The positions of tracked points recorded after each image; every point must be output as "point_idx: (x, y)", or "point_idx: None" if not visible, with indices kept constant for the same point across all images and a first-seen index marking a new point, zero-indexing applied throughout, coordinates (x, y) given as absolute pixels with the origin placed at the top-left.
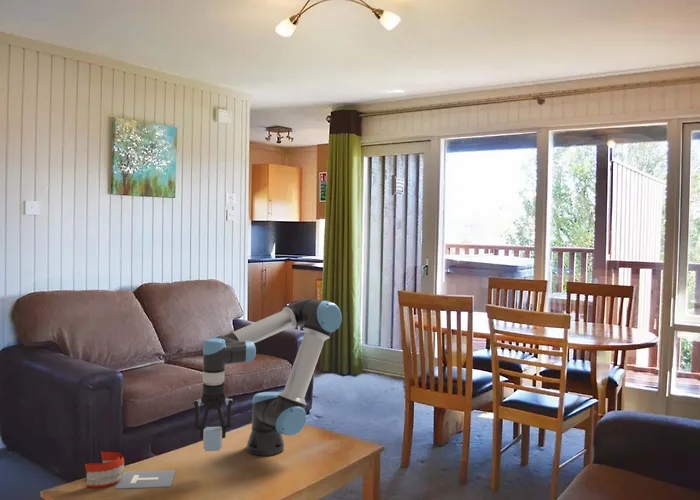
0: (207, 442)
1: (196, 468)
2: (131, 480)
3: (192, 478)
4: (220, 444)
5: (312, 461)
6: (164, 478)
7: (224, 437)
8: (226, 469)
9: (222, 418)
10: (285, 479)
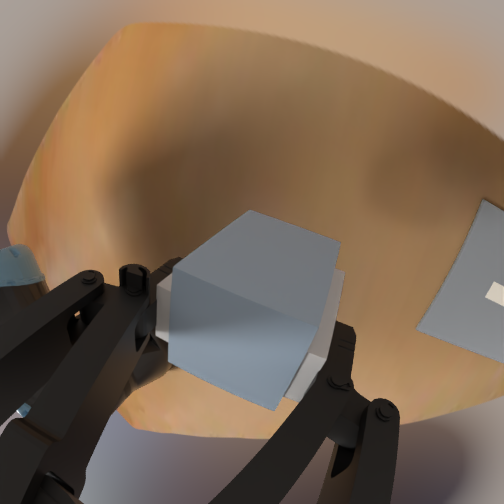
0: (316, 261)
1: (344, 318)
2: None
3: (388, 240)
4: None
5: (59, 214)
6: (475, 279)
7: (178, 260)
8: None
9: (74, 352)
10: (107, 119)
